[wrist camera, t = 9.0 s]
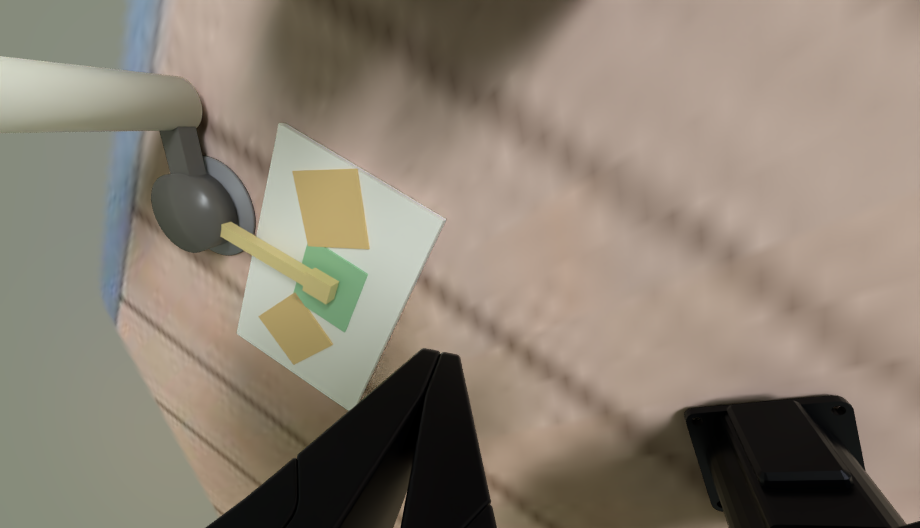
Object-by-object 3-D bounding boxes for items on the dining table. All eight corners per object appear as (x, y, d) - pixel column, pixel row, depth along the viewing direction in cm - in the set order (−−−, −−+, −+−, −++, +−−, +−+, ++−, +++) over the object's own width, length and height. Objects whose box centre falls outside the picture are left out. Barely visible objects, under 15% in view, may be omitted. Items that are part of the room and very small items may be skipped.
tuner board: (447, 217, 20) (442, 220, 19) (355, 408, 28) (351, 414, 27) (187, 63, 22) (177, 61, 21) (170, 281, 30) (162, 284, 29)
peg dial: (240, 31, 19) (-188, -81, 9) (349, 293, 23) (142, 437, 12) (129, 106, 24) (-245, 92, 13) (235, 316, 28) (12, 437, 17)
